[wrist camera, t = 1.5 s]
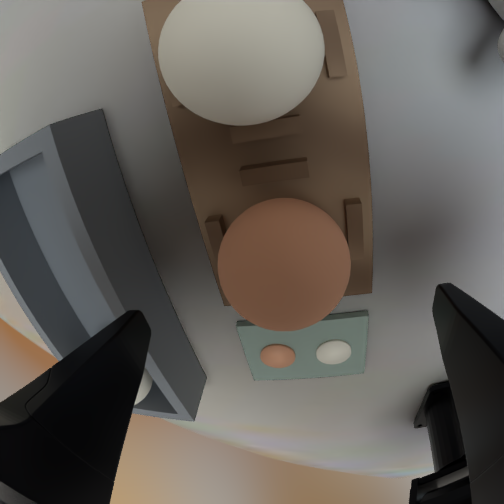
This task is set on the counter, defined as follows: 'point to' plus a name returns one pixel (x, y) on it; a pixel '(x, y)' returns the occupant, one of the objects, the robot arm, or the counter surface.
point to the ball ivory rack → (241, 57)
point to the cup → (503, 5)
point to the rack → (283, 150)
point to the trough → (88, 256)
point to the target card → (307, 348)
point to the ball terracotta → (284, 264)
